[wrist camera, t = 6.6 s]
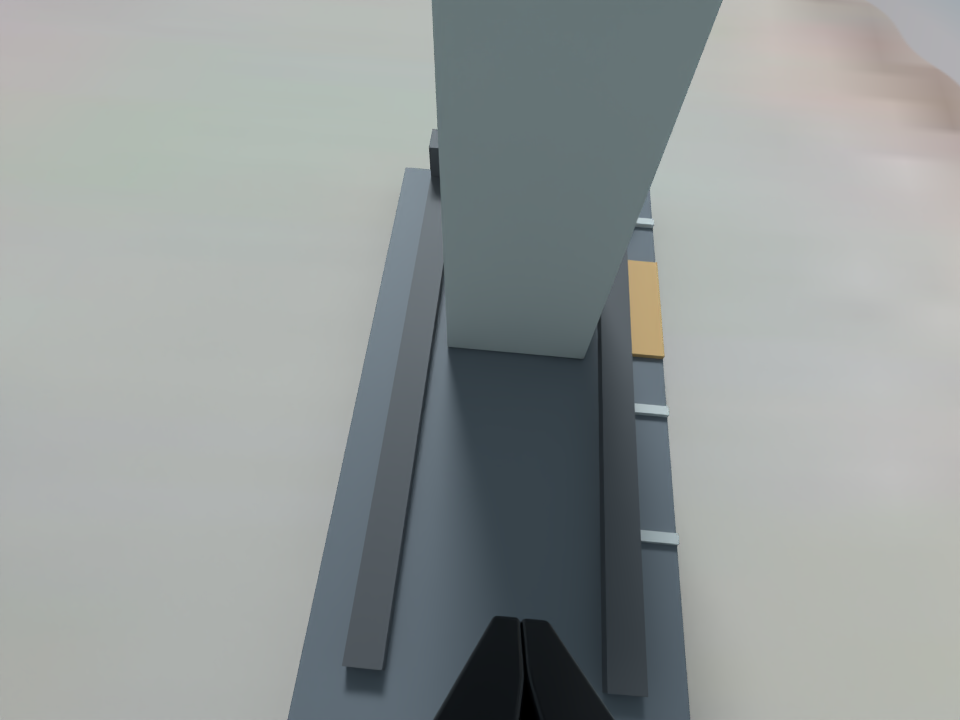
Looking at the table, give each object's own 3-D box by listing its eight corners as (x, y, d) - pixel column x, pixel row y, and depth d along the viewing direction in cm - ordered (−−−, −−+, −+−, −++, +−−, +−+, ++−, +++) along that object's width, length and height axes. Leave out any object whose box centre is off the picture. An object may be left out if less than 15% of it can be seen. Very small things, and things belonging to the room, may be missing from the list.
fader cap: (583, 359, 19) (750, -72, 8) (447, 346, 19) (427, -96, 8) (583, 264, 21) (717, -186, 10) (459, 253, 21) (457, -205, 10)
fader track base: (679, 789, 15) (730, 817, 12) (293, 749, 15) (253, 767, 12) (641, 209, 24) (664, 148, 21) (408, 189, 24) (401, 126, 22)
